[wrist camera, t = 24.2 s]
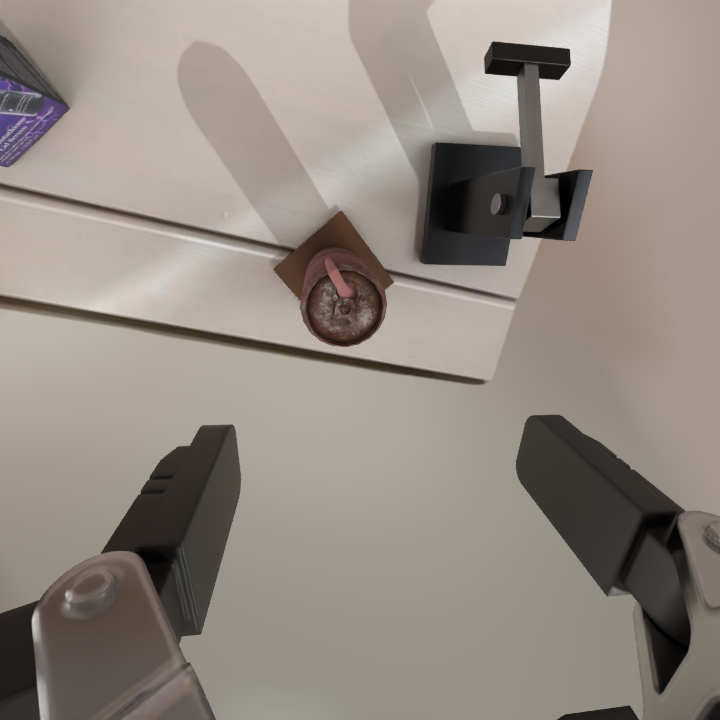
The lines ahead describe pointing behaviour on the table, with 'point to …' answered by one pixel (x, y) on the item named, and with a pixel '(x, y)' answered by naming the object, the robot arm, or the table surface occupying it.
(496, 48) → the lever
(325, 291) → the can
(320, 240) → the coaster
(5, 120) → the box
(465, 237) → the bracket
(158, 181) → the table surface
